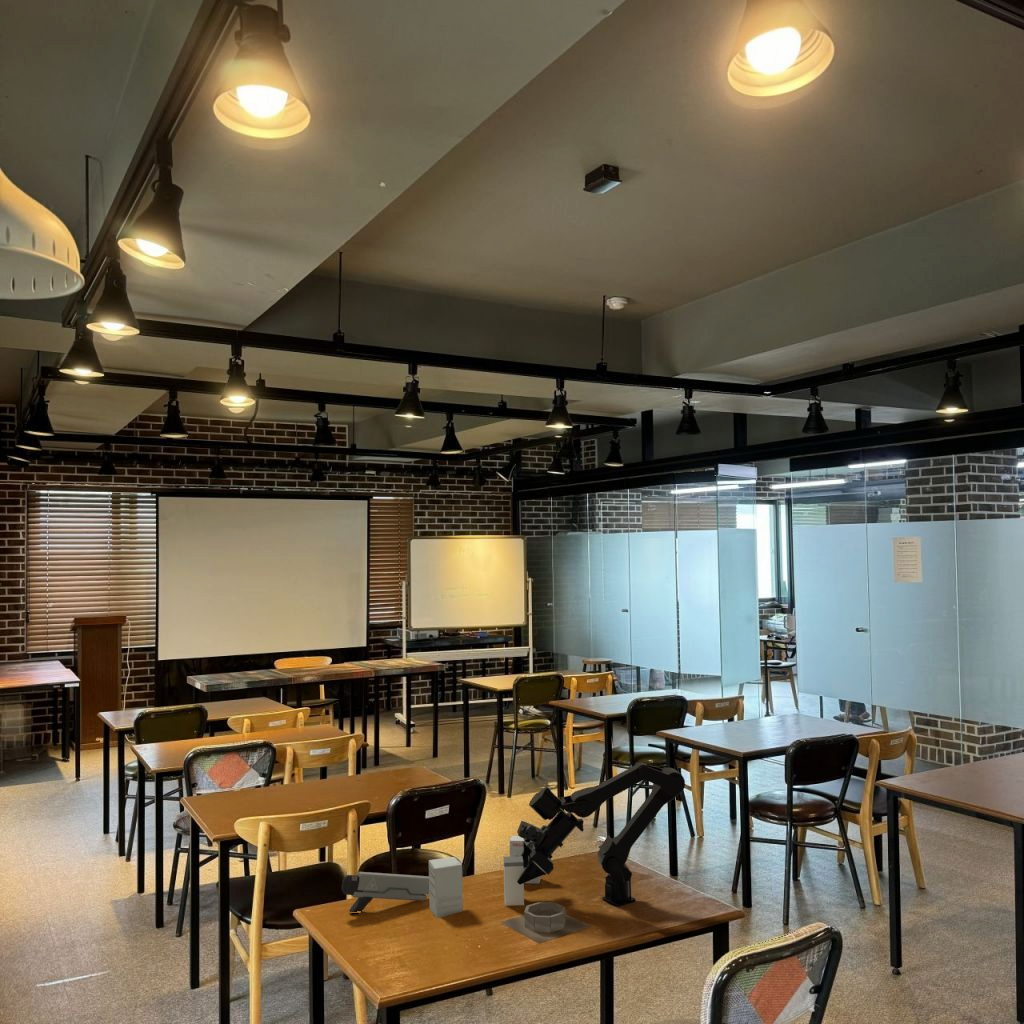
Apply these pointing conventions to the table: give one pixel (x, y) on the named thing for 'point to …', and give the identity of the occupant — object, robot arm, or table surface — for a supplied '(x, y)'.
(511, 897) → the link block
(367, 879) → the gun
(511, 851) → the ink box
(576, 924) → the ring stand
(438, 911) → the supplement box
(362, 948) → the table surface
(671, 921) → the table surface
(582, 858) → the table surface
